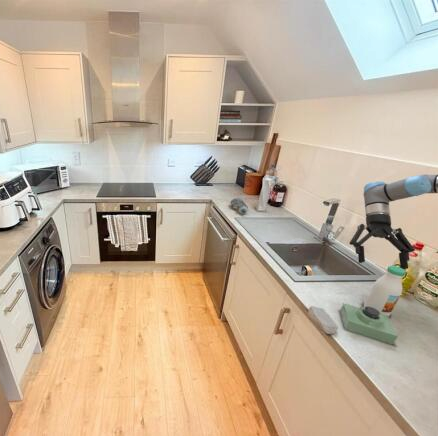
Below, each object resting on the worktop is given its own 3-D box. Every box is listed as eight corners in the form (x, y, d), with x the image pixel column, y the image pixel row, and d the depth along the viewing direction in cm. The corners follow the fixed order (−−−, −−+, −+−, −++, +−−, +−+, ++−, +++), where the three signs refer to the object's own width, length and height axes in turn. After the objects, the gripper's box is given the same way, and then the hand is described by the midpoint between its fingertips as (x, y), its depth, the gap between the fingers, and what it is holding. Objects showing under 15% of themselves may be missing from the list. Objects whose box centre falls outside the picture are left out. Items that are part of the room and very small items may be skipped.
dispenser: (383, 323, 87) (389, 311, 85) (392, 344, 79) (400, 331, 77) (340, 310, 93) (345, 299, 91) (345, 329, 85) (350, 316, 83)
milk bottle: (369, 315, 91) (390, 273, 83) (359, 301, 98) (378, 261, 90) (393, 320, 89) (418, 277, 81) (382, 305, 96) (403, 264, 88)
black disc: (375, 313, 85) (378, 308, 84) (379, 321, 82) (381, 316, 81) (361, 309, 87) (363, 305, 86) (364, 316, 83) (366, 312, 83)
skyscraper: (255, 207, 198) (261, 174, 187) (265, 208, 196) (273, 175, 185) (256, 211, 191) (263, 177, 179) (267, 212, 188) (274, 177, 177)
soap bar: (329, 338, 85) (342, 332, 82) (313, 335, 85) (326, 328, 81) (317, 312, 93) (328, 305, 89) (303, 309, 92) (313, 302, 88)
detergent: (228, 204, 204) (233, 214, 181) (230, 196, 201) (235, 206, 178) (244, 206, 203) (251, 217, 180) (246, 198, 200) (253, 208, 177)
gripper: (408, 223, 99) (415, 273, 92) (338, 216, 107) (340, 261, 100) (422, 216, 93) (431, 269, 86) (347, 209, 100) (350, 257, 93)
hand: (382, 265), depth 93 cm, fingers open, 13 cm apart
